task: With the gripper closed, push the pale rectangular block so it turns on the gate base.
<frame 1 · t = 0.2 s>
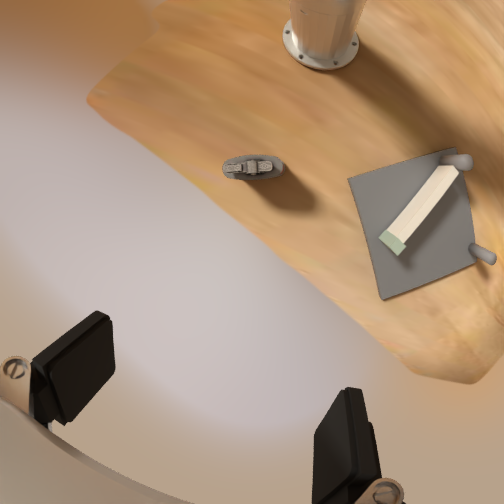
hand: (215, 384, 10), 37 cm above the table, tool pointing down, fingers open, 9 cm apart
gate base: (420, 221, 40), on the table
lighter: (259, 168, 43), on the table
pale rectangular block: (421, 206, 35), point 5 cm above the table, hinge at -60.0°
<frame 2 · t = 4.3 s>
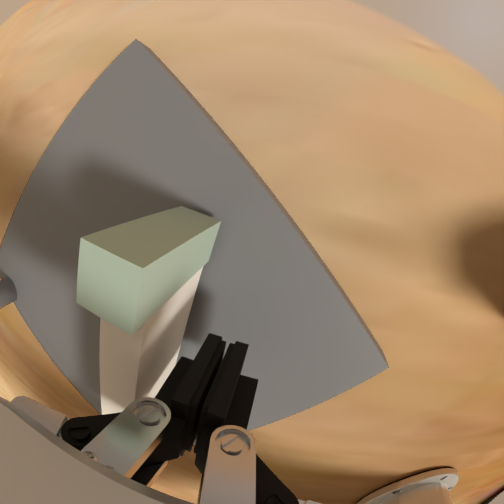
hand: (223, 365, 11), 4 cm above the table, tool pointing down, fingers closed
gate base: (129, 304, 15), on the table
pale rectangular block: (137, 394, 11), point 5 cm above the table, hinge at -57.6°, touching gripper
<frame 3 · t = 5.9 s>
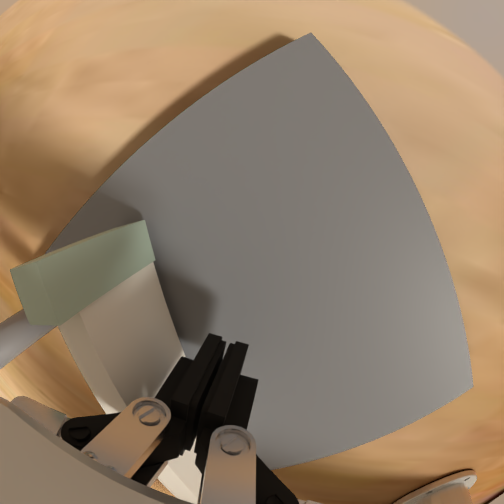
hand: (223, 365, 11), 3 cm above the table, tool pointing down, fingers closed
gate base: (246, 339, 14), on the table
pale rectangular block: (158, 414, 10), point 5 cm above the table, hinge at -21.4°, touching gripper
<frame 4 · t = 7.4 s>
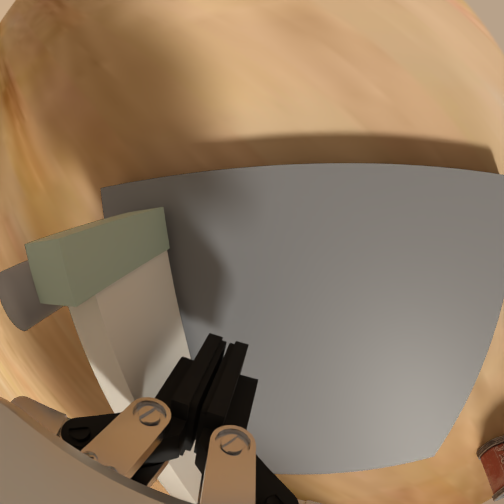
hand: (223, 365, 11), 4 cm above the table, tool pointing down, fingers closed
gate base: (321, 365, 14), on the table
lighter: (498, 443, 15), on the table
pale rectangular block: (156, 403, 11), point 5 cm above the table, hinge at 1.9°, touching gripper
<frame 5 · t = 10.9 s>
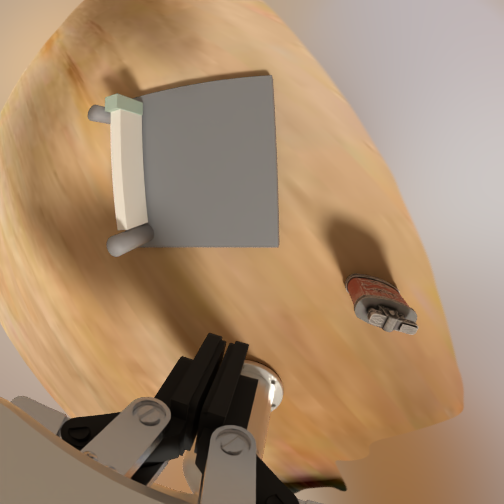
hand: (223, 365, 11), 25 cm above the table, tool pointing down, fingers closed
gate base: (193, 164, 34), on the table
lighter: (372, 288, 35), on the table
pale rectangular block: (125, 161, 30), point 5 cm above the table, hinge at 0.7°
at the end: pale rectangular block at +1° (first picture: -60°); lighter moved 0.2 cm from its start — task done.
